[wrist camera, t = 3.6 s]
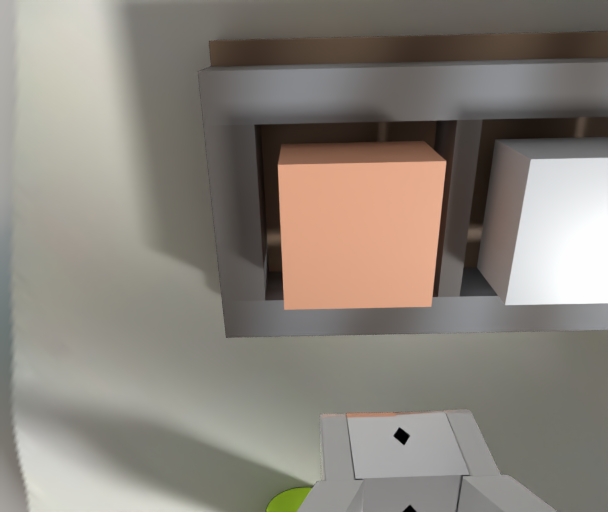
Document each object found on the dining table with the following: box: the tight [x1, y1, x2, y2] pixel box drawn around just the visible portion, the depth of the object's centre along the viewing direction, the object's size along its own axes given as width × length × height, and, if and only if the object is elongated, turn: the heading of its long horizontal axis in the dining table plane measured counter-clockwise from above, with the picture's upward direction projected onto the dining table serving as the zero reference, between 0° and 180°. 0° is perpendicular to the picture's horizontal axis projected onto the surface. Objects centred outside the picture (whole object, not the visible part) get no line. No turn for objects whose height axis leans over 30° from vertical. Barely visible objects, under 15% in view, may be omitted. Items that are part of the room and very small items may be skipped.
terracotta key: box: [278, 141, 446, 310], centre depth 20 cm, size 6×6×4 cm
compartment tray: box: [198, 31, 608, 338], centre depth 23 cm, size 30×14×5 cm, turn 91°
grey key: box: [477, 137, 608, 305], centre depth 20 cm, size 6×6×4 cm
